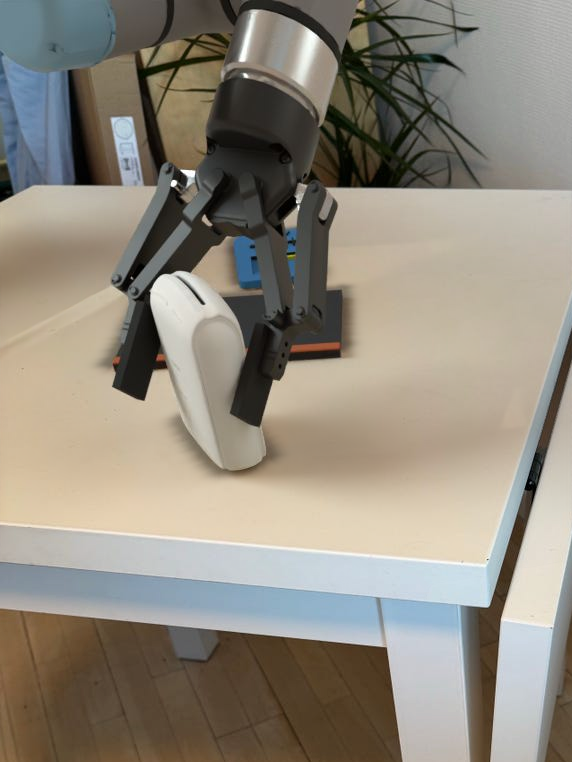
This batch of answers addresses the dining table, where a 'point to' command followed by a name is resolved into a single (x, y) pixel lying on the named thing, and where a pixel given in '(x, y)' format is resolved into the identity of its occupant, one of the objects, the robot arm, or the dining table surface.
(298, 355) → the mat
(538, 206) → the dining table surface
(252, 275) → the handheld gaming device
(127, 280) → the robot arm
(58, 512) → the dining table surface
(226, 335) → the photo printer
